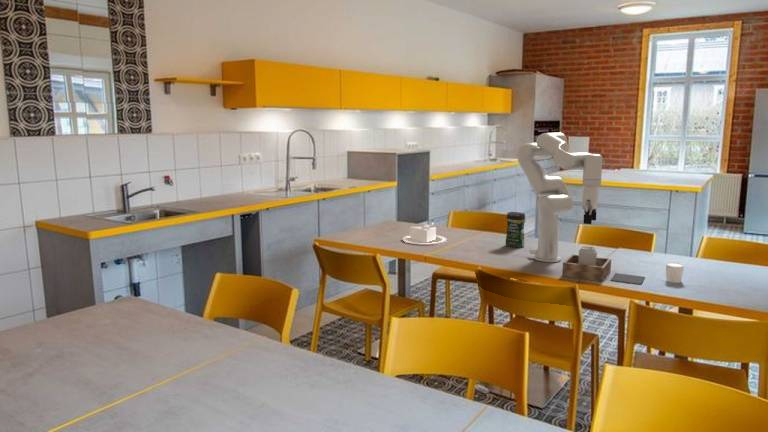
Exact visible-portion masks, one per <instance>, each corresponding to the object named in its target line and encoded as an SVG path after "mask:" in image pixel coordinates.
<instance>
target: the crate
mask: <svg viewBox="0 0 768 432" xmlns="http://www.w3.org/2000/svg"><path fill="white" fill-rule="evenodd" d="M578 260H579V254H571V255H570V256H569V257H568V258H566V259H565V260H564V261H563V262H562V275H561V276H562V277H566V276H569V278H573V279H575V278H576V279H583V280H588V281H589V280H591V281H599V282H604V281H605V280H606V278H607V277H608V276H609V275H610V274H611V270H612V269H611V268H612V258H606V257H600V256H599V257H598V256H597V258H596V266H591V265H583V264H578Z"/></svg>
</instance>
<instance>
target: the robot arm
mask: <svg viewBox="0 0 768 432" xmlns="http://www.w3.org/2000/svg"><path fill="white" fill-rule="evenodd" d="M569 150H570V147H569V144H568V138H567V136H566V134H564V133H562V132H543V133H541V134H539V135H538V137H537V138H536V142H527V143H523V144H521V145H520V146H519V147H518V149H517V161H518V164H519V167H520V168H521V170H522V171H523V172H524V174H525V176H526V178H527V180H528V183H529V185H530V187H531V189H532V191H533V192H534V194H535V196H538V197H539V199H538V200H537V202H536V203H537V204H536V207H537V212H538V213H537V214H538V230H537V231H538V236H537V237H538V238H537V248H536V249H532V248H529V251H528V252H529V253H528V254H532V255H534V257H533V259H534V260H536V261H538V262H542V263H558V262H561V261H562V257H561V256H560V255H559V239H560V238H559V237H560V222H559V220H558V218H557V215H562V214H563V215H564V214H569V213H571V212H572V211H573V210H574V200H573V197H572V194H571V193H570V190H569V189H568V187H567V185H566V182H565V181H564V179H562V178H561V177H560V176H558V175H557V176H556V175H550V176H549V175H547V174H546V173H545V171H544V168H543V167H542V166H541V164H539V163H538V162H536V161H535V160H548V159H553V161H554V164H555V165H556V166H558V167H559V168H561V169H563V170H565V171H582V185H581V186H582V187H583V191H582V201H581V209H582V210H584V211H583V221H582V222H583V225H592V221H596V220H597V208H598V204H599V202H598V201H599V188H600V187H602V173H603V172H602V170H603V156H602V154H599V153H590V152H569Z"/></svg>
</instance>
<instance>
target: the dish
mask: <svg viewBox="0 0 768 432" xmlns="http://www.w3.org/2000/svg"><path fill="white" fill-rule="evenodd" d="M434 224H435V223H434V222H431V224H427V223H426V222H424V224H423V225H422V226H410V227H409V235H405V236H404V237H402V238H401V241H402V240H403V241H404V242H406V243H405V244H407V243H411V244H421V245H429V244H439V243H443V242H445V241H446V240H447V237H444V236H443V235H438V234H437V227H436V226H433V225H434ZM432 226H433V227H432ZM436 237H438V238H440V239H442V240H441V241H439V242H432V243H418V242H411V241H408V240H407V239H408V238H412V239H416V240H420V241H423V242H429V241H432V240H435V239H436ZM403 241H402V242H403ZM404 242H403V243H404ZM446 242H447V241H446ZM446 242H445V243H446ZM411 244H410V245H411ZM443 244H444V243H443ZM439 245H440V244H439Z"/></svg>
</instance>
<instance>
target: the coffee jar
mask: <svg viewBox="0 0 768 432" xmlns="http://www.w3.org/2000/svg"><path fill="white" fill-rule="evenodd" d="M505 221H506V223H507V227H506V228H507V229H506V237H505V246H506V247H510V246H511V248H516V247H519V248H523V247H524V246H525V224H526V214H525V212H517V211H510V212H507V213H506V220H505Z"/></svg>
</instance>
